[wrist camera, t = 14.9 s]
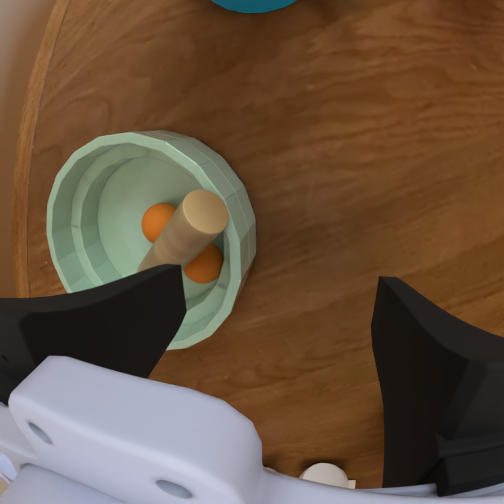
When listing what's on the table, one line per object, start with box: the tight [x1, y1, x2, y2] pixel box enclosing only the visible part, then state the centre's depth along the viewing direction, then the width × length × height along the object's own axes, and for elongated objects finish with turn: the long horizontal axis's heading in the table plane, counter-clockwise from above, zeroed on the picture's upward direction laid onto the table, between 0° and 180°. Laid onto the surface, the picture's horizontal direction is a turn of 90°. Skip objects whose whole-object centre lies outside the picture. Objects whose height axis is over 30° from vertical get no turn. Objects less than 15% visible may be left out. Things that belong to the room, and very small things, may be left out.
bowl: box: [47, 130, 256, 350], centre depth 21 cm, size 14×14×5 cm
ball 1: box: [141, 203, 177, 243], centre depth 21 cm, size 3×3×3 cm
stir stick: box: [137, 190, 229, 272], centre depth 18 cm, size 2×2×9 cm
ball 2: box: [183, 243, 224, 284], centre depth 21 cm, size 3×3×3 cm
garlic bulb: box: [299, 463, 348, 488], centre depth 28 cm, size 6×6×5 cm
